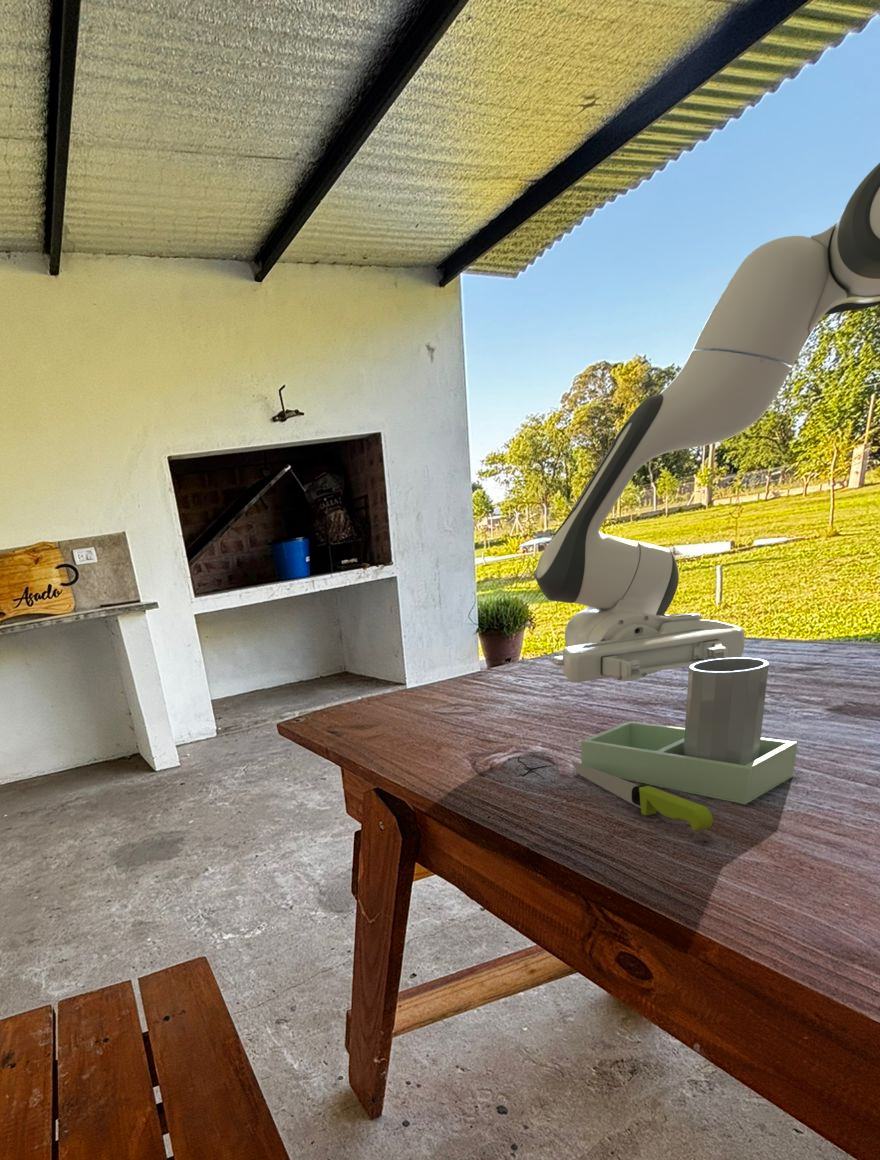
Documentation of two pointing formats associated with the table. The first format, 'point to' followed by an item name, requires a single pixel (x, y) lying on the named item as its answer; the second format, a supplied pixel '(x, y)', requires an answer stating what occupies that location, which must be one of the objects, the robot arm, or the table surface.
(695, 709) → the cutlery cup
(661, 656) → the robot arm
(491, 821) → the table surface
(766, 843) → the table surface
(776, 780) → the divided tray
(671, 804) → the kitchen knife
